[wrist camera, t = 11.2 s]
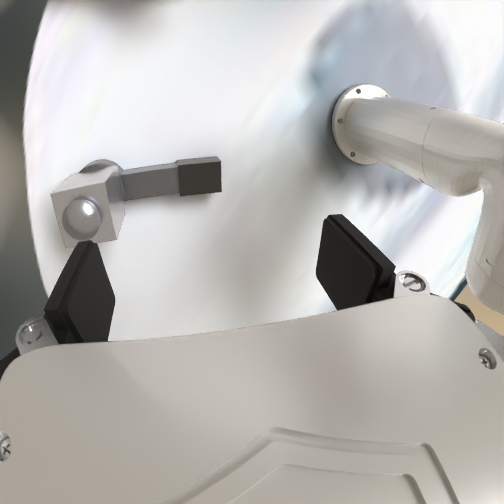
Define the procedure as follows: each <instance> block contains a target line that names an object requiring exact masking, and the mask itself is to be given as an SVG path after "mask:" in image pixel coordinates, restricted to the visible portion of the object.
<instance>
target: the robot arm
mask: <svg viewBox="0 0 504 504" xmlns="http://www.w3.org/2000/svg"><path fill="white" fill-rule="evenodd" d="M332 131H333V135H334V139H335V141H336V144H337V146H338V147H339V149H340V151H341V152H342V153H343V154H344V155H345V156H346V157H347V158H349V159H350V160H352V161H354V162H356V163H360V164H367V165H369V164H374V163H377V162H382V163H384V164H386V165H388V166H390V167H392V168H395V169H397V170H399V171H401V172H403V173H405V174H407V175H409V176H411V177H413V178H415V179H417V180H419V181H421V182H423V183H424V184H426V185H428V186H430V187H432V188H434V189H436V190H438V191H439V192H441V193H443V194H446V195H449V196H454V197H461V196H466V195H469V194H472V193H475V192H477V191H479V190H481V189H482V190H483V192H484V200H483V205H482V212H481V216H480V220H479V224H478V227H477V231H476V234H475V238H474V241H473V244H472V247H471V251H470V254H469V257H468V261H467V267H466V277H467V282H468V285H469V287H470V289H471V291H472V293H473V294H474V295H475V296H476V298H477V299H478V300H479V301H481V302H482V303H483V304H484V305H486V306H487V307H489V308H491V309H492V310H494V311H497V312H499V313H501V314H504V123H500V122H496V121H492V120H487V119H484V118H481V117H477V116H473V115H470V114H466V113H462V112H459V111H455V110H451V109H447V108H443V107H439V106H435V105H430V104H426V103H421V102H416V101H411V100H406V99H400V98H394V97H390V95H389V94H388V93H387V92H386V91H385V90H383V89H382V88H380V87H378V86H375V85H371V84H358V85H354V86H352V87H350V88H348V89H347V90H346V91H345V92H344V93H343V94H342V95H341V96H340V98H339V99H338V101H337V103H336V105H335V108H334V111H333V116H332ZM395 267H396V266H395V265H394V264H393V263H392V262H391V261H390V260H389V259H388V258H387V257H386V256H385V255H384V254H383V253H382V252H381V251H380V250H379V249H378V248H377V247H376V246H375V245H374V244H373V243H372V242H371V241H370V240H369V239H368V238H367V237H366V236H365V235H364V234H363V233H362V232H360V231H359V230H358V229H357V228H356V227H355V226H354V225H353V224H352V223H351V222H350V221H349V220H348V219H347V218H345V217H344V216H343V215H342V214H337V215H329V216H328V217H327V219H324V222H323V228H322V235H321V242H320V248H319V254H318V260H317V266H316V276H317V279H318V280H319V282H320V284H321V285H322V287H323V288H324V290H325V291H326V293H327V295H328V296H329V298H330V299H331V301H332V303H333V304H334V306H335V307H336V309H337V311H333V312H328V313H323V314H318V315H313V316H308V317H303V318H298V319H292V320H287V321H281V322H276V323H270V324H264V325H258V326H251V327H245V328H238V329H231V330H224V331H217V332H209V333H200V334H192V335H183V336H173V337H162V338H151V339H139V340H125V341H108V336H109V331H110V326H111V321H112V316H113V311H114V306H115V295H114V292H113V290H112V287H111V284H110V281H109V278H108V276H107V273H106V270H105V267H104V264H103V260H102V257H101V254H100V251H99V248H98V245H97V243H93V241H92V240H87V241H80V242H78V243H77V245H76V247H75V248H74V250H73V252H72V254H71V256H70V257H69V259H68V261H67V263H66V265H65V267H64V269H63V271H62V273H61V275H60V277H59V279H58V281H57V283H56V285H55V287H54V289H53V291H52V293H51V295H50V297H49V300H48V302H47V304H46V306H45V309H44V311H45V315H44V318H42V317H34V318H31V319H29V320H27V321H26V322H24V323H23V324H22V326H21V327H20V328H19V330H18V332H17V334H16V343H17V346H18V347H17V348H16V349H14V350H13V351H12V352H11V353H9V354H8V355H7V356H6V357H4V358H3V359H2V360H1V361H0V504H504V337H503V336H502V335H500V334H499V333H497V332H496V331H494V330H492V329H491V328H489V327H488V326H487V325H485V324H483V323H482V322H480V321H479V320H478V321H477V323H475V317H474V315H473V313H472V312H471V310H470V309H469V308H468V307H467V306H466V305H464V304H460V303H457V302H454V301H452V300H449V299H447V298H444V297H441V296H438V295H435V294H432V293H430V287H429V283H428V282H427V280H426V279H425V278H424V277H423V276H421V275H419V274H418V273H415V272H412V271H401V272H399V273H398V274H397V275H396V274H395V273H394V270H395Z"/></svg>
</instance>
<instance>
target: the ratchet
mask: <svg viewBox="0 0 504 504" xmlns="http://www.w3.org/2000/svg"><path fill="white" fill-rule="evenodd" d="M116 165H117V166H118V173H119V180H120V186H121V192H122V198H123V202H124V201H126V200H132V199H138V198H145V197H152V196H159V195H167V194H175V193H180V196H187V195H196V194H205V193H215V192H222V189H221V161H220V160H219V158H218V157H217V156H216V157H204V158H193V159H184V160H177V163H169V164H161V165H154V166H147V167H140V168H133V169H127V170H123V169H122V168H121V167H120V166H119V165H118V164H116V163H115V162H112V161H110V160H105V159H101V160H96V161H93V162H91V163H89V164H88V165H87V166H86V167H84V168H83V169H82V170H81V171H80V172H79V173H81V172H86V171H90V170H95V169H100V168H105V167H111V166H116Z"/></svg>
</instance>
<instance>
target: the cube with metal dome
mask: <svg viewBox="0 0 504 504" xmlns="http://www.w3.org/2000/svg"><path fill="white" fill-rule="evenodd" d="M51 198H52V202H53V206H54V210H55V214H56V217H57V221H58V225H59V228H60V231H61V235H62V238H63V241H64V244H65V247H66V248H69V247H75V246H76V245H77V243H78V242H80V241H87V240H92V241H93V243H100V242H106V241H112V240H117V238H118V235H119V231H120V228H121V225H122V222H123V219H124V216H125V209H124V204H123V198H122V192H121V186H120V180H119V173H118V166H117V165H116V166H111V167H105V168H100V169H95V170H90V171H86V172H81V173H76V174H72V175H70V176H69V177H68V178H67V179H66V180H65V181H63V182H62V183H61V184H60V185H59V186H58V187H57V188H56V189H55V190H54V191H53V192H52V193H51Z"/></svg>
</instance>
